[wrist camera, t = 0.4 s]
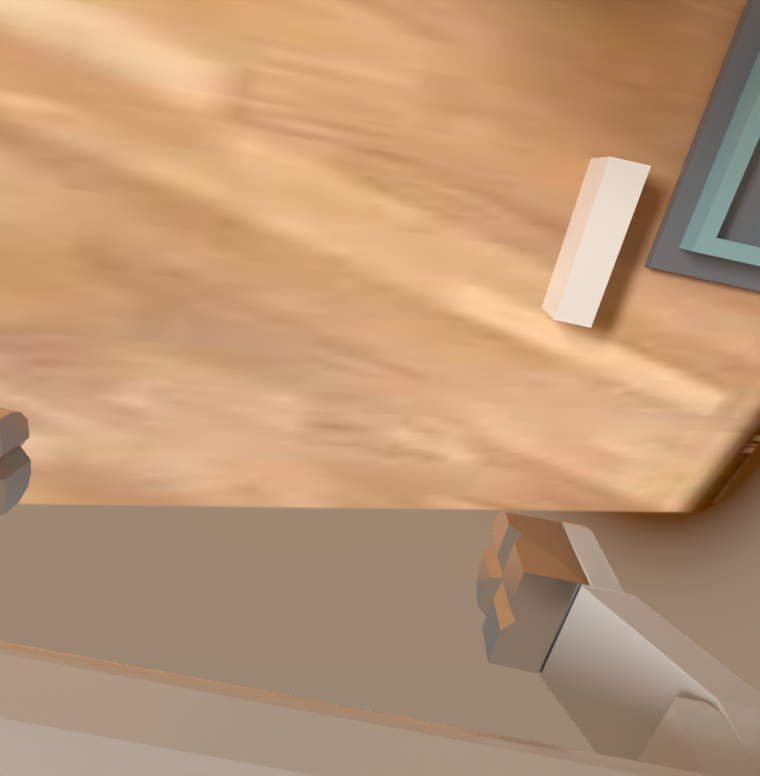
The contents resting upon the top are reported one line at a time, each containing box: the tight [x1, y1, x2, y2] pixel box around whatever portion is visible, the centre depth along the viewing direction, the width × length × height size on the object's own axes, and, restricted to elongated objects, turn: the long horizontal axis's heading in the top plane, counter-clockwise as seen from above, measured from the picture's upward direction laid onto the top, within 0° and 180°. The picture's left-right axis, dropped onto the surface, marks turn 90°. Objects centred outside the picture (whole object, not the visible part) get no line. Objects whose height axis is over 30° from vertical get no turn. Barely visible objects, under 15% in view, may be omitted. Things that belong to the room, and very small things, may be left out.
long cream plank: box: [542, 157, 651, 328], centre depth 48 cm, size 14×4×5 cm, turn 168°
